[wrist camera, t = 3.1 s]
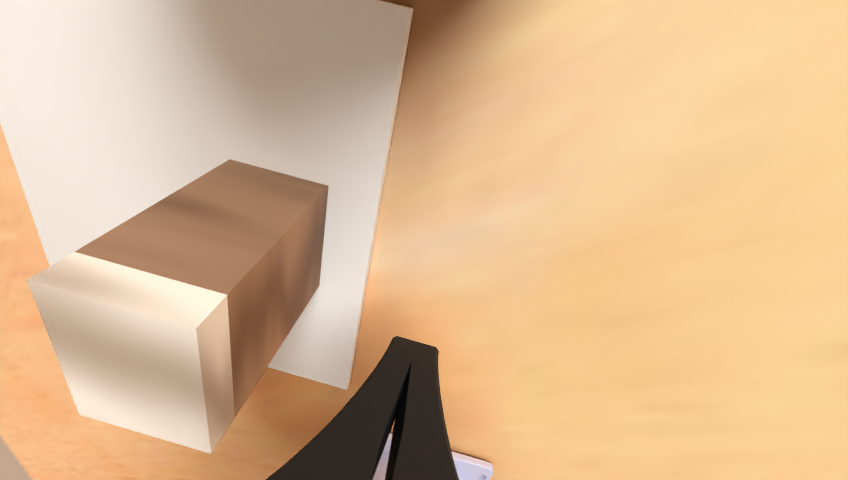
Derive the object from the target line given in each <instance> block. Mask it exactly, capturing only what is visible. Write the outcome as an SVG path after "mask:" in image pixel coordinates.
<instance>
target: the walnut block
mask: <svg viewBox="0 0 848 480" xmlns="http://www.w3.org/2000/svg"><path fill="white" fill-rule="evenodd" d="M328 187H329V186H327V185H324V184H320V183H316V182H313V181H309V180H305V179H301V178H298V177H294V176H290V175H287V174H283V173H279V172H275V171H272V170H268V169H264V168H261V167H257V166H253V165H250V164H246V163H242V162H238V161H235V160H231V159H229V160H228V161H226V162H224V163H222V164H221V165H219V166H217V167H216V168H214V169H212V170H211V171H209V172H207V173H206V174H204V175H202V176H201V177H199V178H197V179H196V180H194V181H192V182H191V183H189V184H187V185H186V186H184V187H182V188H181V189H179V190H177V191H175V192H174V193H172V194H170V195H169V196H167V197H165V198H164V199H162V200H160V201H159V202H157V203H155V204H154V205H152V206H150V207H149V208H147V209H145V210H144V211H142V212H140V213H139V214H137V215H135V216H134V217H132V218H130V219H128V220H127V221H125V222H123V223H122V224H120V225H118V226H117V227H115V228H113V229H112V230H110V231H108V232H107V233H105V234H103V235H102V236H100V237H98V238H97V239H95V240H93V241H92V242H90V243H88V244H87V245H85V246H83V247H81V248H80V249H78V250H76V251H75V252H73V253H71V254H70V255H68V256H66V257H65V258H63V259H61V260H60V261H58V262H56V263H55V264H53V265H51V266H50V267H48V268H46V269H45V270H43V271H41V272H40V273H38V274H36V275H34V276H33V277H31V278H29V279H28V280H27V282H28V284H29V287H30V289H31V292H32V294H33V297H34V300H35V302H36V305H37V307H38V310H39V312H40V315H41V317H42V320H43V323H44V325H45V328H46V330H47V333H48V335H49V338H50V340H51V343H52V346H53V348H54V351H55V353H56V356H57V358H58V361H59V363H60V366H61V369H62V371H63V374H64V376H65V379H66V381H67V384H68V387H69V389H70V392H71V394H72V397H73V399H74V402H75V404H76V407H77V410H78V412H79V415H82V416H86V417H89V418H92V419H96V420H99V421H102V422H106V423H109V424H112V425H116V426H119V427H123V428H126V429H129V430H133V431H136V432H139V433H143V434H146V435H149V436H153V437H156V438H159V439H163V440H166V441H169V442H173V443H176V444H180V445H183V446H186V447H190V448H193V449H196V450H200V451H203V452H206V453H210V454H212V452H213V450H214V449H215V447H216V446H217V444H218V443H219V441H220V440H221V438H222V436H223V435H224V433H225V432H226V430H227V429H228V427H229V426H230V424H231V422H232V421H233V419H234V418H235V416H236V415H237V413H238V412H239V410H240V408H241V407H242V405H243V404H244V402H245V401H246V399H247V398H248V396H249V394H250V393H251V391H252V390H253V388H254V387H255V385H256V384H257V382H258V380H259V379H260V377H261V376H262V374H263V373H264V371H265V370H266V368H267V366H268V365H269V363H270V362H271V360H272V359H273V357H274V356H275V354H276V352H277V351H278V349H279V348H280V346H281V345H282V343H283V342H284V340H285V338H286V337H287V335H288V334H289V332H290V331H291V329H292V328H293V326H294V324H295V323H296V321H297V320H298V318H299V317H300V315H301V314H302V312H303V310H304V309H305V307H306V306H307V304H308V303H309V301H310V300H311V298H312V296H313V295H314V293H315V292H316V290H317V289H318V287H319V285H320V274H321V263H322V252H323V241H324V230H325V220H326V209H327V198H328Z"/></svg>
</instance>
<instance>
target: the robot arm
mask: <svg viewBox="0 0 848 480" xmlns="http://www.w3.org/2000/svg"><path fill="white" fill-rule="evenodd" d="M438 352H439V351H438V350H437V348H436V347H433V346H430V345H426V344H423V343H419V342H416V341H412V340H409V339H405V338H402V337H398V336H396V337H394V338H393V339H392V341H391V343H390V345H389V347H388V349H387V351H386V352H385V354H384V356H383V357H382V359H381V360H380V362H379V363H378V365H377V366H376V368H375V369H374V370H373V372H372V373H371V374H370V376H369V377H368V378H367V380H366V381H365V382H364V384H363V385H362V386H361V388H360V389H359V390H358V391H357V392H356V394H355V395H354V396H353V397H352V398H351V399H350V401H349V402H348V403H347V404H346V405H345V406H344V407H343V409H342V410H341V411H340V412H339V413H338V414H337V415H336V416H335V417H334V418H333V419H332V421H331V422H330V423H329V424H328V425H327V426H326V427H325V428H324V429H323V430H322V431H321V432H320V433H319V434H318V435H317V436H316V437H315V438H313V439H312V440H311V441H310V442H309V443H308V444H307V445H306V446H305V447H304V448H303V449H302V450H300V451H299V452H298V453H297V454H296V455H295V456H294V457H293V458H291V459H290V460H289V461H288V462H287V463H286V464H285V465H283V466H282V467H281V468H280V469H278V470H277V471H276V472H275V473H273V474H272V475H271V476H270V477H268V478H267V479H266V480H490V479H491V477H492V475H493V465H492V464H491V463H489V462H487V461H484V460H480V459H477V458H473V457H470V456H466V455H463V454H460V453H456V452H453V451H451V448H450V444H449V439H448V435H447V430H446V425H445V420H444V414H443V408H442V401H441V394H440V386H439V374H438ZM394 420H395V423H394ZM393 423H394V428H393V434H391V433H390V431H391V428H392V425H393Z"/></svg>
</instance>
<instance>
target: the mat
mask: <svg viewBox="0 0 848 480" xmlns="http://www.w3.org/2000/svg"><path fill="white" fill-rule="evenodd" d="M413 10H414V8H411V7H407V6H403V5H399V4H395V3H391V2H387V1H383V0H0V124H1V127H2V130H3V133H4V135H5V138H6V141H7V144H8V147H9V150H10V153H11V156H12V159H13V161H14V164H15V167H16V170H17V173H18V176H19V179H20V182H21V185H22V188H23V190H24V193H25V196H26V199H27V202H28V205H29V208H30V211H31V214H32V216H33V219H34V222H35V225H36V228H37V231H38V234H39V237H40V240H41V243H42V245H43V248H44V251H45V254H46V257H47V260H48V263H49V266H51V265H53V264H55V263H56V262H58V261H60V260H61V259H63V258H65V257H66V256H68V255H70V254H71V253H73V252H75V251H76V250H78V249H80V248H81V247H83V246H85V245H87V244H88V243H90V242H92V241H93V240H95V239H97V238H98V237H100V236H102V235H103V234H105V233H107V232H108V231H110V230H112V229H113V228H115V227H117V226H118V225H120V224H122V223H123V222H125V221H127V220H128V219H130V218H132V217H134V216H135V215H137V214H139V213H140V212H142V211H144V210H145V209H147V208H149V207H150V206H152V205H154V204H155V203H157V202H159V201H160V200H162V199H164V198H165V197H167V196H169V195H170V194H172V193H174V192H175V191H177V190H179V189H181V188H182V187H184V186H186V185H187V184H189V183H191V182H192V181H194V180H196V179H197V178H199V177H201V176H202V175H204V174H206V173H207V172H209V171H211V170H212V169H214V168H216V167H217V166H219V165H221V164H222V163H224V162H226V161H228V160H229V159H231V160H235V161H238V162H242V163H246V164H250V165H253V166H257V167H261V168H264V169H268V170H272V171H275V172H279V173H283V174H287V175H290V176H294V177H298V178H301V179H305V180H309V181H313V182H316V183H320V184H324V185H327V186H329V187H328V198H327V209H326V220H325V230H324V241H323V252H322V263H321V274H320V285H319V287H318V289H317V290H316V292H315V293H314V295H313V296H312V298H311V300H310V301H309V303H308V304H307V306H306V307H305V309H304V310H303V312H302V314H301V315H300V317H299V318H298V320H297V321H296V323H295V324H294V326H293V328H292V329H291V331H290V332H289V334H288V335H287V337H286V338H285V340H284V342H283V343H282V345H281V346H280V348H279V349H278V351H277V352H276V354H275V356H274V357H273V359H272V360H271V362H270V363H269V365H268V366H267V367H268V368H272V369H275V370H279V371H282V372H286V373H289V374H293V375H296V376H300V377H303V378H307V379H310V380H313V381H317V382H320V383H324V384H327V385H331V386H334V387H338V388H341V389H345V390H347V389H348V386H349V384H350V379H351V373H352V367H353V362H354V356H355V350H356V344H357V338H358V332H359V326H360V321H361V315H362V309H363V303H364V297H365V291H366V285H367V280H368V274H369V268H370V262H371V256H372V250H373V244H374V238H375V233H376V227H377V221H378V215H379V209H380V203H381V197H382V192H383V186H384V180H385V174H386V168H387V162H388V156H389V151H390V145H391V139H392V133H393V127H394V121H395V115H396V109H397V104H398V98H399V92H400V86H401V80H402V74H403V68H404V63H405V57H406V51H407V45H408V39H409V33H410V27H411V21H412V16H413Z"/></svg>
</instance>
